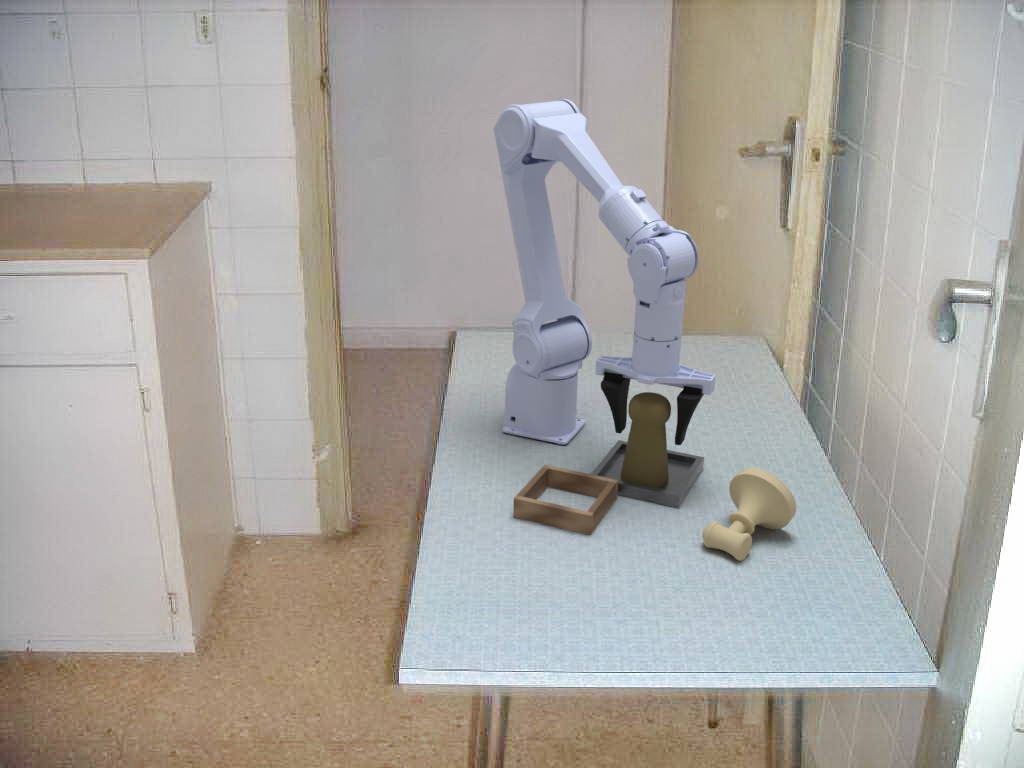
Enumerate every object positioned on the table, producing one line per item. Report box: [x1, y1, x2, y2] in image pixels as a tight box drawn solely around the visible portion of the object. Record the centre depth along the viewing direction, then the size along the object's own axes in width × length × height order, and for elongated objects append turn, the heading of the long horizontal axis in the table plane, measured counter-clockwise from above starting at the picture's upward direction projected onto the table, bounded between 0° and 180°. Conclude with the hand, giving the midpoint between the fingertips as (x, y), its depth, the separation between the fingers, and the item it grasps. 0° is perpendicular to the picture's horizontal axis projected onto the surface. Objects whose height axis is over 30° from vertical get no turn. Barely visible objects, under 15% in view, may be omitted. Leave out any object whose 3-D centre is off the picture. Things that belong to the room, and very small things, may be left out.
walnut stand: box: [512, 464, 618, 536], centre depth 129 cm, size 10×10×2 cm
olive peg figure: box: [621, 391, 672, 488], centre depth 134 cm, size 6×6×11 cm
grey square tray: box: [590, 439, 705, 509], centre depth 137 cm, size 12×12×2 cm
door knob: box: [701, 467, 797, 562], centre depth 123 cm, size 10×8×8 cm
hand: (649, 436), depth 135 cm, fingers open, 7 cm apart
